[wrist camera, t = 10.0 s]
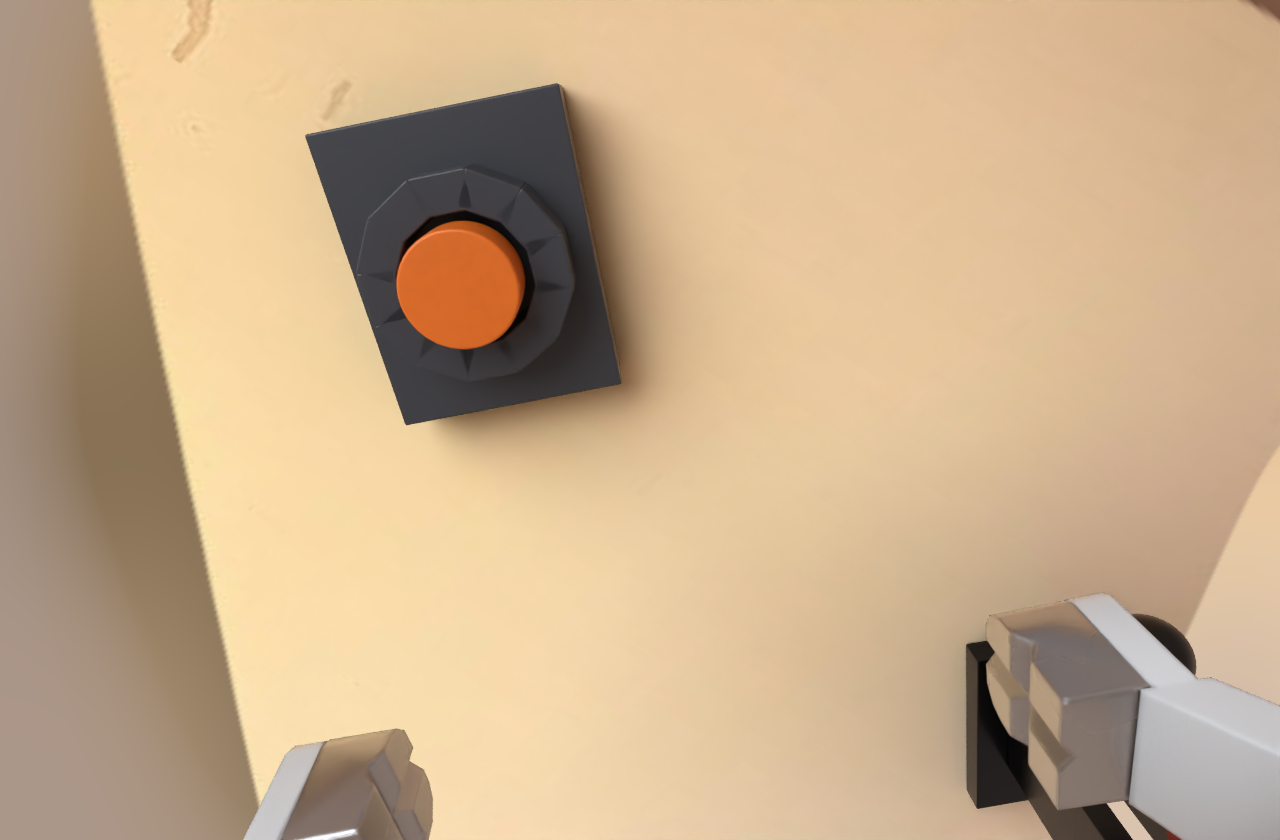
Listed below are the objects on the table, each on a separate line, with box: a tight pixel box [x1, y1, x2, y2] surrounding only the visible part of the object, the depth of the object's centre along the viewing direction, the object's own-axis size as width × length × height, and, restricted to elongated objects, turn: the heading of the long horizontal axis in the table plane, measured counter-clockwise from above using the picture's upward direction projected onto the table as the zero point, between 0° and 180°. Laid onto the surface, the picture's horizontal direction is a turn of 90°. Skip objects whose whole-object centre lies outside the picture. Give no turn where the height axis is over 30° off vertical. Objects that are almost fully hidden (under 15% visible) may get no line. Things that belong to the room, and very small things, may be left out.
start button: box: [397, 221, 525, 349], centre depth 22 cm, size 4×4×2 cm
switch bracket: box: [966, 641, 1168, 840], centre depth 31 cm, size 10×8×13 cm
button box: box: [305, 83, 621, 425], centre depth 24 cm, size 10×8×4 cm
